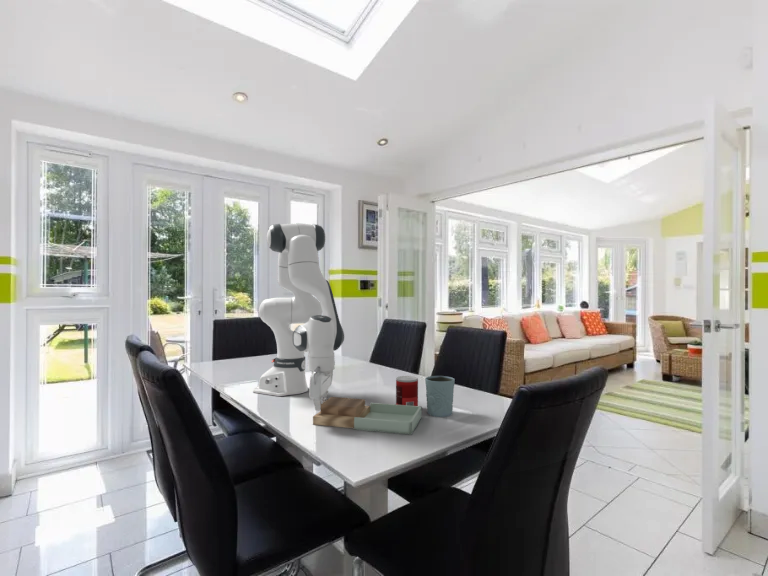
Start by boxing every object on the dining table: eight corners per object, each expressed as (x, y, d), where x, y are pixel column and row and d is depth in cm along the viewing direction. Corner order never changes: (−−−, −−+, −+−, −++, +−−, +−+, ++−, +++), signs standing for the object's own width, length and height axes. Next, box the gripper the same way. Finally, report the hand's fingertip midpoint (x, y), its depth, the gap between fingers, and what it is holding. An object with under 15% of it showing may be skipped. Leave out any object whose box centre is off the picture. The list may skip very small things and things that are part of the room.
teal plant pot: (426, 417, 140) (426, 381, 140) (423, 408, 150) (423, 375, 150) (456, 417, 140) (456, 381, 140) (452, 408, 150) (452, 375, 150)
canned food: (421, 407, 151) (421, 377, 151) (410, 413, 145) (410, 381, 145) (403, 404, 156) (403, 374, 156) (391, 409, 149) (391, 378, 149)
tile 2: (338, 415, 134) (338, 406, 134) (348, 406, 143) (348, 398, 143) (356, 417, 132) (356, 407, 132) (365, 408, 142) (365, 399, 142)
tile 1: (320, 414, 135) (320, 404, 135) (330, 405, 145) (331, 396, 145) (338, 415, 134) (338, 405, 134) (347, 406, 144) (347, 397, 144)
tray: (354, 429, 128) (354, 417, 128) (370, 412, 145) (370, 402, 145) (411, 434, 124) (411, 422, 124) (421, 416, 141) (421, 406, 141)
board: (313, 424, 133) (313, 416, 133) (332, 410, 148) (332, 403, 148) (355, 428, 129) (355, 420, 129) (370, 413, 144) (370, 406, 144)
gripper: (324, 370, 130) (324, 415, 130) (335, 359, 150) (335, 398, 150) (304, 370, 130) (304, 415, 130) (318, 359, 150) (318, 397, 150)
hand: (321, 405), depth 140 cm, fingers open, 8 cm apart
